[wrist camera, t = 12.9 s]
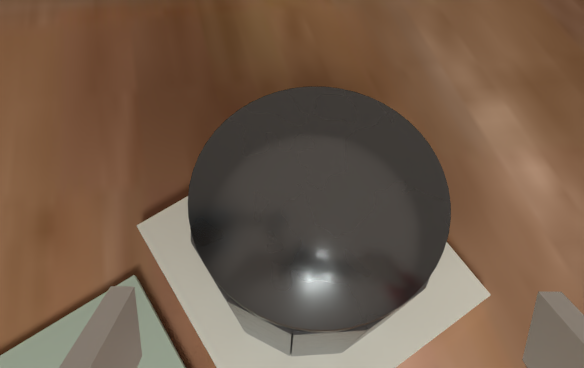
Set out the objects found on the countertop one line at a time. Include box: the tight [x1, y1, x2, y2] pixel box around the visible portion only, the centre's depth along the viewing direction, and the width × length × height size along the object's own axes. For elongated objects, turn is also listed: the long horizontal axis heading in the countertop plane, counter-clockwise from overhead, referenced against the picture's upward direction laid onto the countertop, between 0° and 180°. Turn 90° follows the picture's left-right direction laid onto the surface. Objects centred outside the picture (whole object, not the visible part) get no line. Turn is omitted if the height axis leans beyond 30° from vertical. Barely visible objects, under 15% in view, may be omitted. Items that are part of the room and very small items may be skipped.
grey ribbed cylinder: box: [188, 87, 451, 356], centre depth 24 cm, size 10×10×10 cm
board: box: [137, 196, 490, 368], centre depth 29 cm, size 15×15×1 cm
